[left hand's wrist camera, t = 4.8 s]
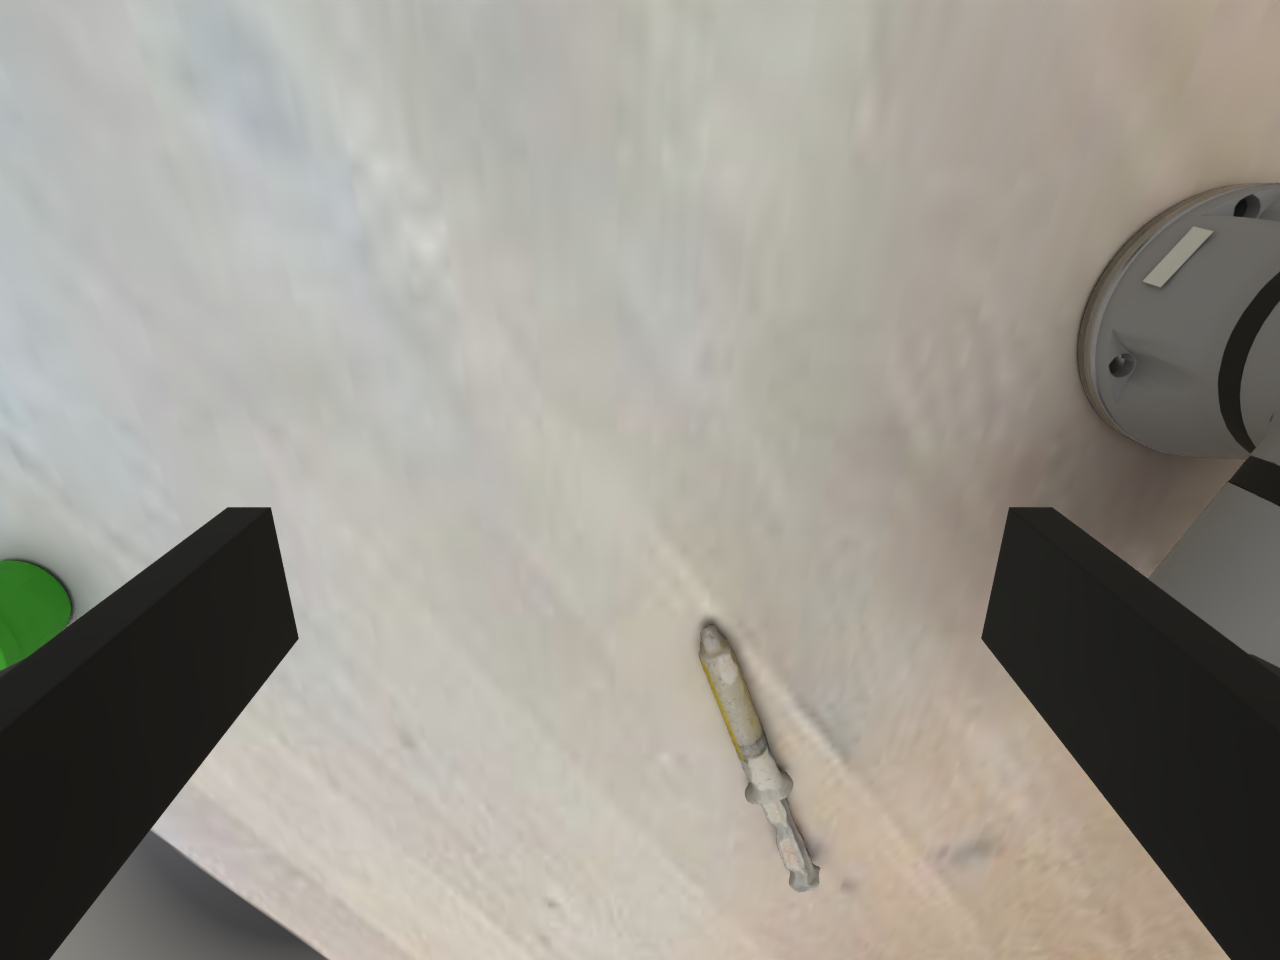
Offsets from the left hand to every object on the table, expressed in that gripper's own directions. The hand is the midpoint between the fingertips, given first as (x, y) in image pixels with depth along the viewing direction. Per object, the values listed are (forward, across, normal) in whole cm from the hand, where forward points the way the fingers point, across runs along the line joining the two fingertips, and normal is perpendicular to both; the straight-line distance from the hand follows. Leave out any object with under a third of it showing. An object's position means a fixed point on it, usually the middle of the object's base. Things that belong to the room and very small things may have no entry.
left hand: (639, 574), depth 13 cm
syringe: (+31, +9, -33) cm, 46 cm away
